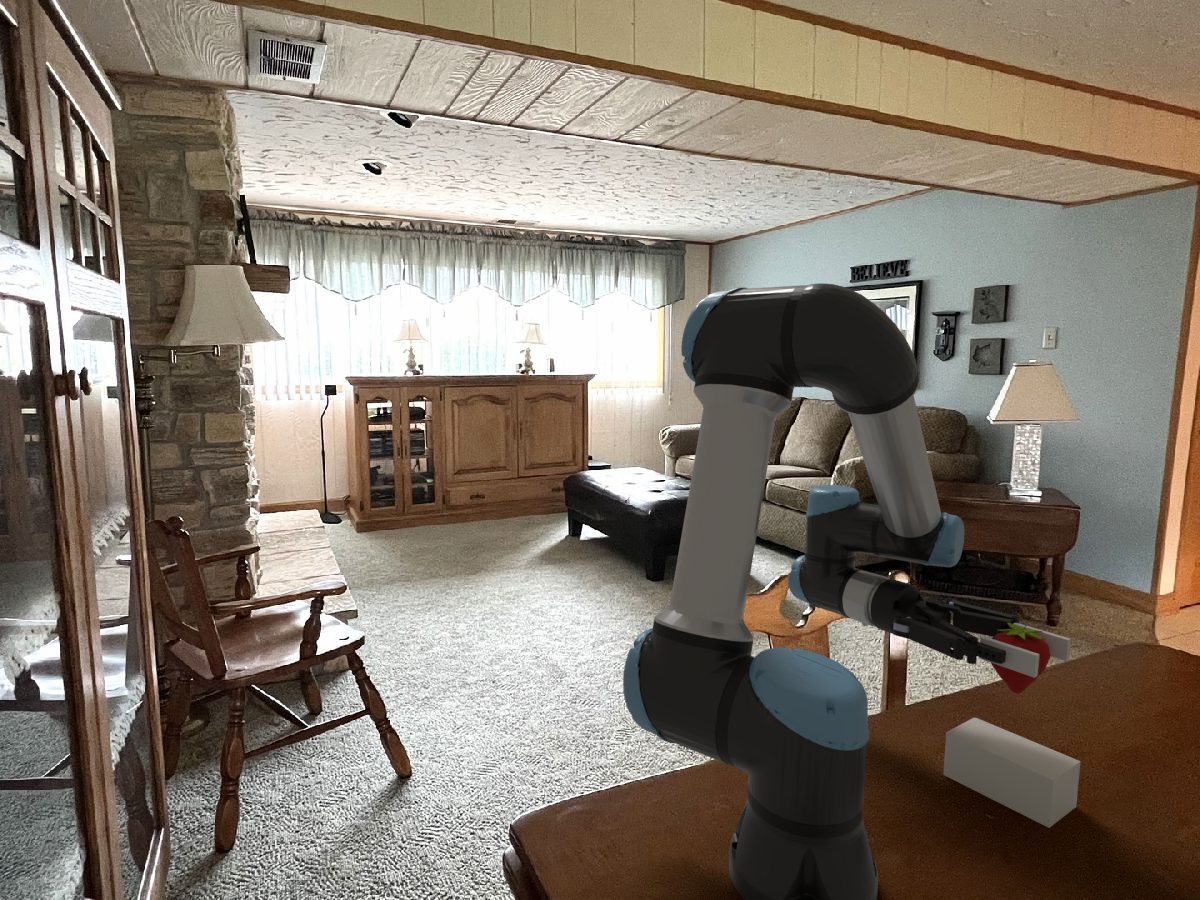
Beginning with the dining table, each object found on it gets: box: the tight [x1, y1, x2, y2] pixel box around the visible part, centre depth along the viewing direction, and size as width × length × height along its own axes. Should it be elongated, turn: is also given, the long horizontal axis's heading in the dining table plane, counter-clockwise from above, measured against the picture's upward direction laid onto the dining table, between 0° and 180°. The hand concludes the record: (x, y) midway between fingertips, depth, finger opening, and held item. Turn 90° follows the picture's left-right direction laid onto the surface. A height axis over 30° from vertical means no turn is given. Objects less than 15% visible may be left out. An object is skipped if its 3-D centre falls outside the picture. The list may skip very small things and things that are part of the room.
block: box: [943, 717, 1081, 828], centre depth 91 cm, size 7×13×6 cm, turn 34°
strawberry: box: [990, 613, 1051, 694], centre depth 89 cm, size 6×8×10 cm
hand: (1052, 657), depth 86 cm, fingers closed on strawberry, 7 cm apart
